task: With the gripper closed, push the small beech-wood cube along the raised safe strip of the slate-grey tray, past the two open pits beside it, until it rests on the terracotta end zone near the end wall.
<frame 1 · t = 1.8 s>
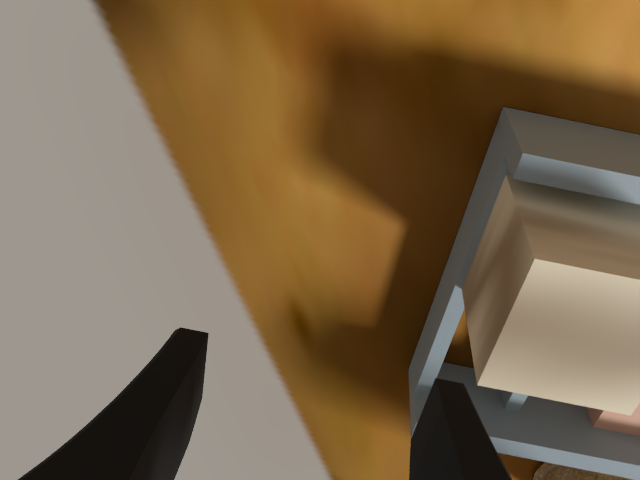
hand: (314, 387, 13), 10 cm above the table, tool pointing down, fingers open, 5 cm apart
sprinkles bottle: (580, 471, 29), on the table
beech block: (549, 249, 20), point 2 cm above the table, touching trap box
trap box: (618, 290, 23), on the table
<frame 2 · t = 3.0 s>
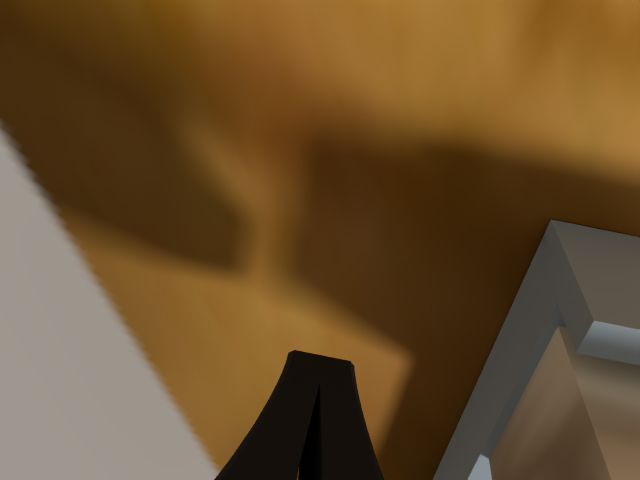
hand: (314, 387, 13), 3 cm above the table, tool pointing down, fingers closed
beech block: (615, 416, 14), point 2 cm above the table, touching trap box
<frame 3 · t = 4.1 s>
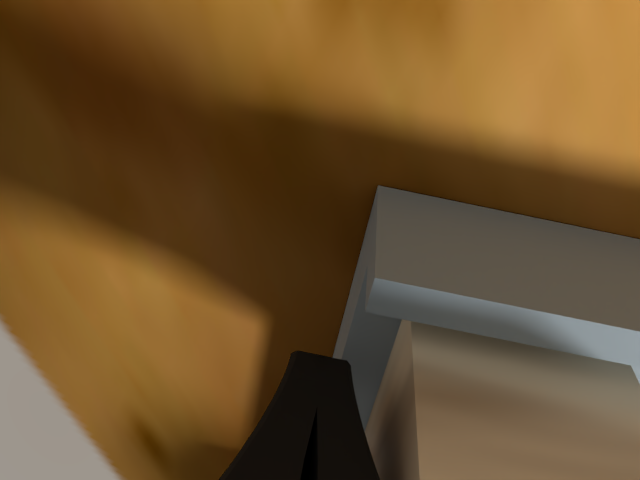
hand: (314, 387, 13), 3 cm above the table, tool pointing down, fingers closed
beech block: (480, 390, 14), point 2 cm above the table, touching gripper, trap box
trap box: (555, 417, 17), on the table
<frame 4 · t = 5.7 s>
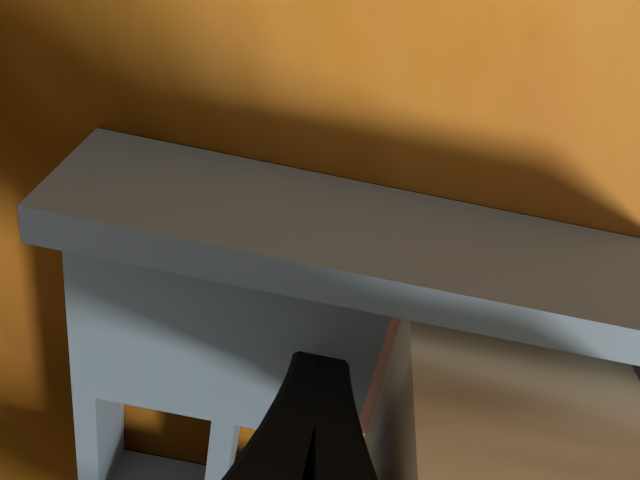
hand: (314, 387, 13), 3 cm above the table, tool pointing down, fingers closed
beech block: (480, 389, 14), point 2 cm above the table, touching gripper, trap box
trap box: (332, 372, 17), on the table
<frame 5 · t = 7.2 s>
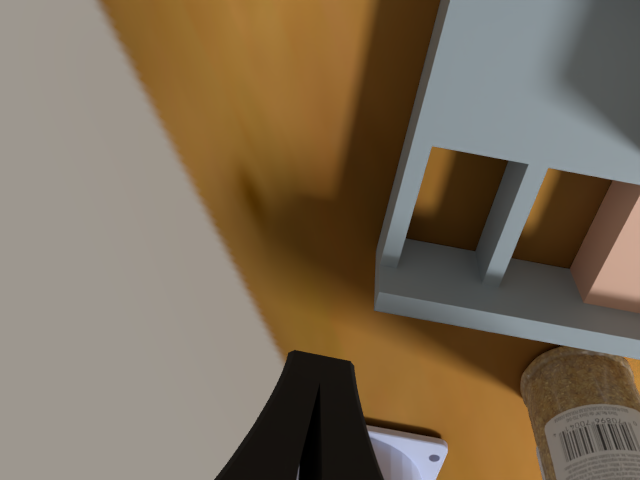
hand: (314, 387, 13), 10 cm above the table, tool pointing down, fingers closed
sprinkles bottle: (573, 374, 26), on the table
trap box: (609, 139, 20), on the table
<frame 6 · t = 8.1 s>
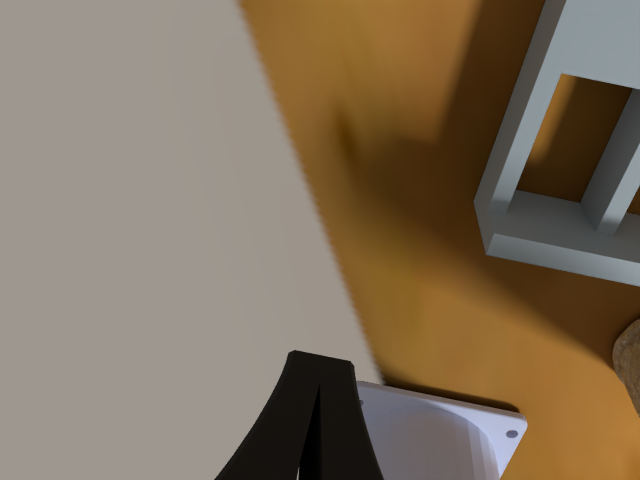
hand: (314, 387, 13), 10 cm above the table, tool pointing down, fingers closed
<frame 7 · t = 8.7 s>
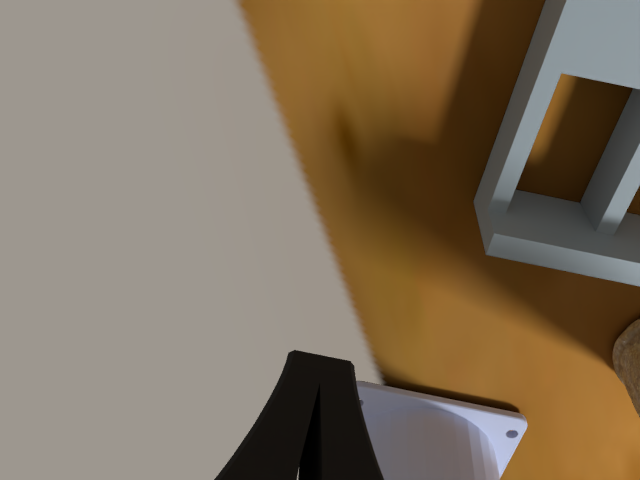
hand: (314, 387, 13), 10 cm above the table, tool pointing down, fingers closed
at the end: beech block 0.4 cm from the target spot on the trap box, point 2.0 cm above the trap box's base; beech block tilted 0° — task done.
